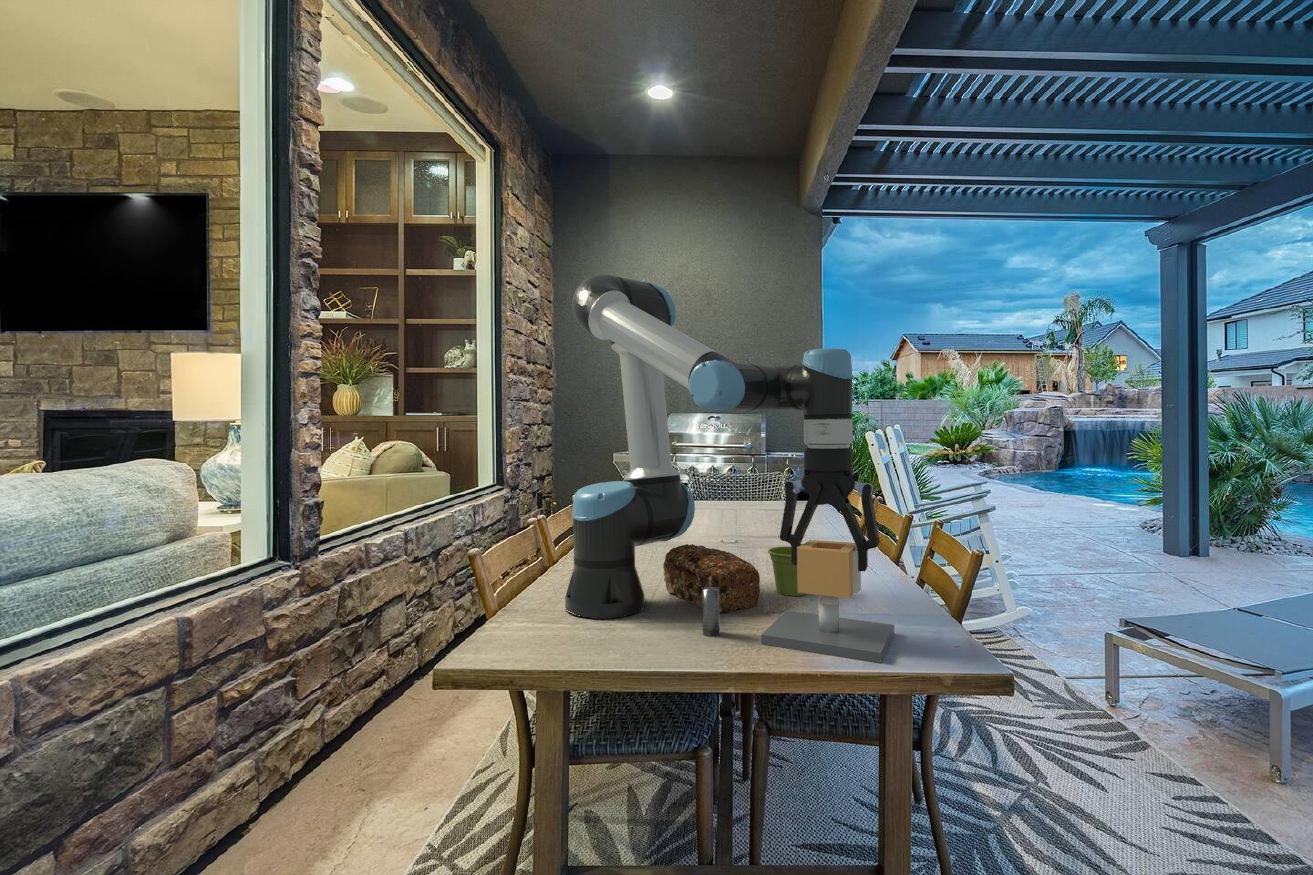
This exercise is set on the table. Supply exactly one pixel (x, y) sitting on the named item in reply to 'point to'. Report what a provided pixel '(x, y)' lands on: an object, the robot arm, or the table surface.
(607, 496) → the robot arm
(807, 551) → the collar
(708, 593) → the shiny metal cylinder
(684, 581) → the bread
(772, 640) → the board
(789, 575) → the plant pot
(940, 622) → the table surface
